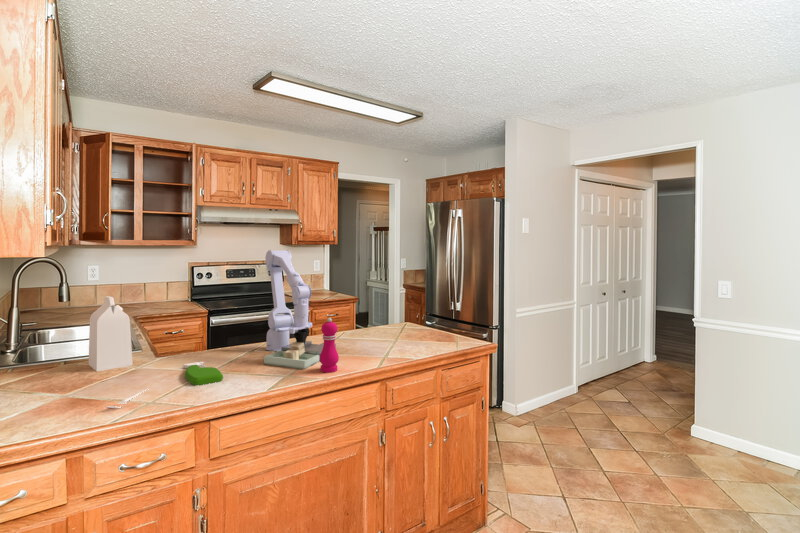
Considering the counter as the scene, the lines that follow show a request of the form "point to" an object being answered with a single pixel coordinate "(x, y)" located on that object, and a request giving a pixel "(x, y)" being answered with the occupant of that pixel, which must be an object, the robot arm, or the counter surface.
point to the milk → (109, 337)
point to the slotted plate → (308, 348)
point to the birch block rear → (298, 347)
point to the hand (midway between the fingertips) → (300, 347)
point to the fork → (126, 400)
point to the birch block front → (292, 354)
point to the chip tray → (291, 360)
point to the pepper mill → (329, 347)
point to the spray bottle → (201, 374)
